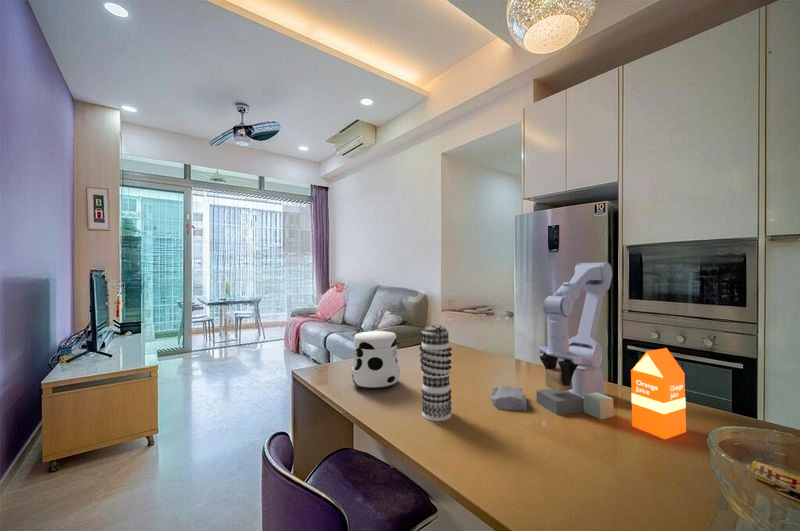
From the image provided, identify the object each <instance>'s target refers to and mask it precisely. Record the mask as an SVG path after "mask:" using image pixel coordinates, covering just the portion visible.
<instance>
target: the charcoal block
mask: <svg viewBox="0 0 800 531" xmlns="http://www.w3.org/2000/svg"><path fill="white" fill-rule="evenodd" d="M536 403H537V404H539V406H542V407H543V408H545V409H547V411H550V412H551V413H552V414H555V415H558V416H559V415H565V414H574V413H581V412H584V398H582V397H580V396H578V395H576V394H574V393H572V392H570V391H568V390H566V391H560V392H559V391H556V390H554V389H552V388H548V389H538V390H536Z"/></svg>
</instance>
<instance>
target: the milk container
mask: <svg viewBox="0 0 800 531" xmlns="http://www.w3.org/2000/svg"><path fill="white" fill-rule="evenodd" d="M397 354H398V346H397V335H396V333H395V332H391V331H385V330H372V331H363V332H358V333H356V334H354V338H353V362H352V365H351V366H352V367H351V378H352V382H353V384H354V385H355V386H357V387H358V388H360V389H361V388H362V389H365V390H380V389H381V390H382V389H386V388H390V387H392V386H395V385H396V384H397V383H398V381H399V379H400V373H401V372H400V370H401V369H400V364H399V360H398V357H397V356H398V355H397Z"/></svg>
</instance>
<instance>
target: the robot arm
mask: <svg viewBox="0 0 800 531" xmlns="http://www.w3.org/2000/svg"><path fill="white" fill-rule="evenodd" d="M612 280H613V269H612V265H611V264H610V263H609V262H608V261H604V262H578V263H576V265H575V266H574V275H573V276H572V277H571V279H570V281H563V283H562V285H561V286H560V287H559V288H558V289H557V290H556V291H555V292H554V293H553V294H552V295H548V296H547V297H546V298H544V300H543V303H542V311H543V312H544V319H545V321H546V324H547V325H546V327H547V329H546V330H547V331H546V332H547V346H544V345H539V346H537V352H538V353H539V354H542V355H539V359H540V361H541V362H542V364H543V366H544V369H545V370H546V369H552V368H557V366H558V365H557V363H558V364H559V368H561V373H562V382H563V385H564V386H569V385H570V384H571V380H572V389H571V390H568V391H570V392H572V393H574V394H576V395H578V396H580V397H582V398H584V395H585V394H591V393H596V392H597V393H600V394H603V395H605V396H607V394H605V388H604V386H605V382H604V381H605V380H604V374H603V371H602V370H601V366H602V363H603V347H602V345H601V344H600V343H599V342H598V341H597V340H596V334H597V329H598V328H597V327H598V324H599V319H600V314H601V309H602V307H603V306H602V304H603V301H604V300H603V299H604V295H605V292H606V291H608V290H610V287H611V284H612V283H611V282H612ZM581 289H582V290H584V291H585V292H586V294H585V299H584V304H583V307H582V313H581V317H580V321H579V325H578V331H577V334H576V335H575V336H573V337H571V338H570V337H569V336H570V334H569V332H570V331H569V316H570V315H571V314H572V311H573V308H574V306H575V305H574V303H575V301H576V300H577V299H578V298H579V296H580V295H581ZM559 359H561V360H559ZM558 360H559V361H558Z"/></svg>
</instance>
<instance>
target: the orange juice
mask: <svg viewBox="0 0 800 531" xmlns="http://www.w3.org/2000/svg"><path fill="white" fill-rule="evenodd" d="M630 379H631V380H630V382H631V383H630V384H631V387H630V388H631V416H632V417H631V419H632V420H631V422H632V424H631V425H632V428H633V427H634V428H636V429H638V430H640V431H643V432H644V433H645V432H646V433H648V434H651V435H653V436H656V437H658V438H660V439H662V440H667V439H670V438H673V437H675V436H679V435H682V434H684V433H687V423H686V422H687V417H686V416H687V415H686V414H687V412H686V408H687V406H686V401H687V400H686V384H685V381H686V380H685V372H684V371H683V369H682V367H681V366H680V365H679V363H678V362H677V360H676V359H675V358H674V356H673V354H671V352H670V351H669V349H668V348H667V347H664V348H658V349H653V350H647V351H645V353H644V355H642V357H641V358H640V359H639V361H638V362H636V364H635V366H634V367H633V368H632V369H630Z"/></svg>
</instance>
